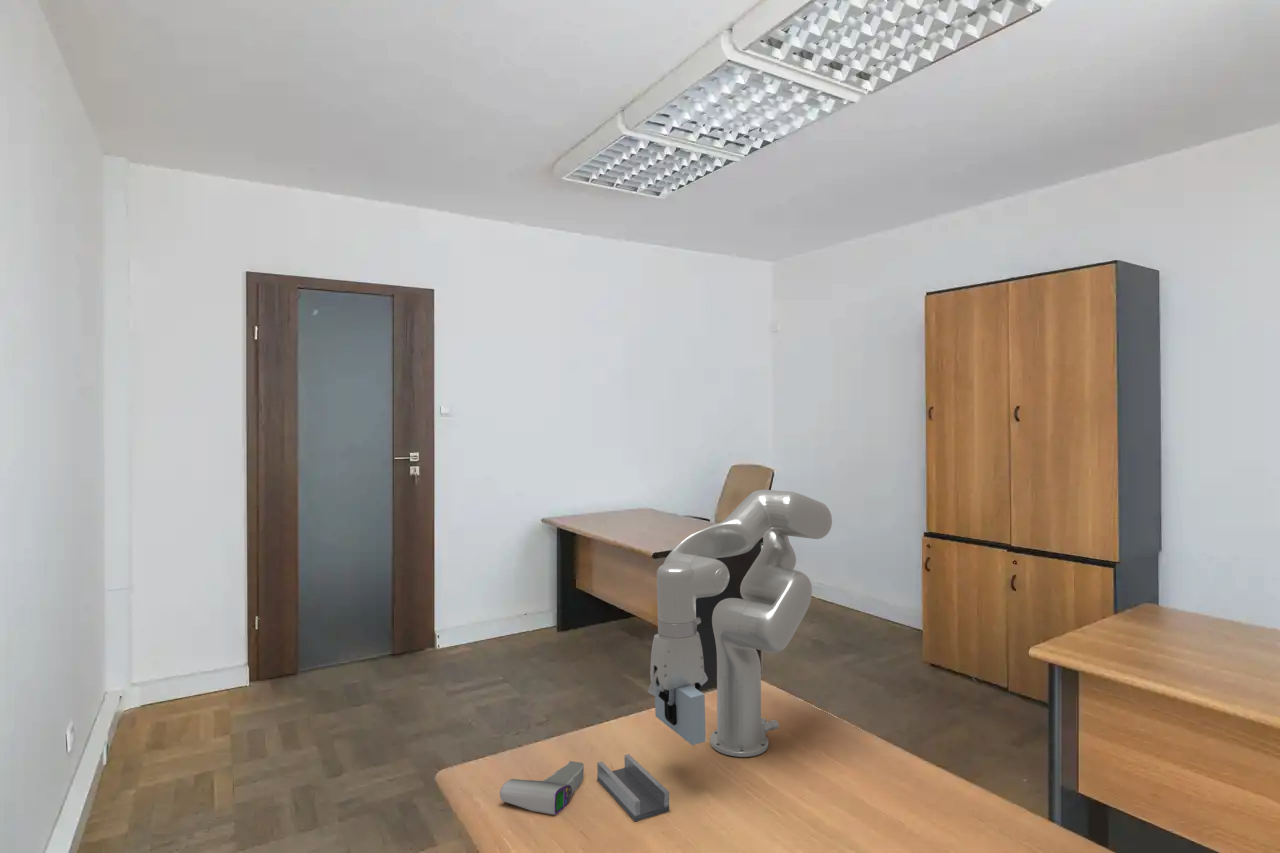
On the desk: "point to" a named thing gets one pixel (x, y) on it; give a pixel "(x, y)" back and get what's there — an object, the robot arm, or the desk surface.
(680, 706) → the grey slab
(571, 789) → the infrared thermometer
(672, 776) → the desk surface
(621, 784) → the track
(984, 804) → the desk surface
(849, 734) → the desk surface
